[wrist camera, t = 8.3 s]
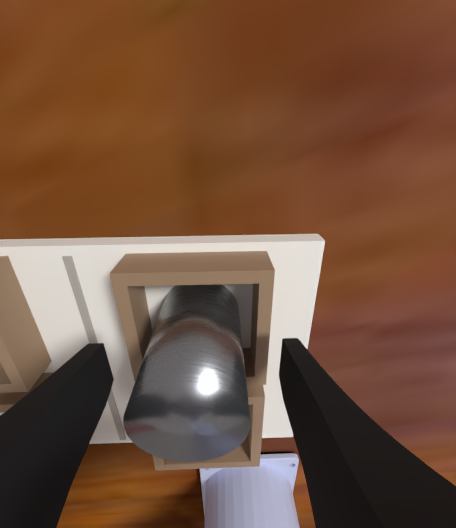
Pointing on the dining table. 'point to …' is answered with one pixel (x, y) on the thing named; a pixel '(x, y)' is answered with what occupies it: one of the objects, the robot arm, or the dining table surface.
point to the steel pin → (191, 379)
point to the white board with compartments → (153, 314)
